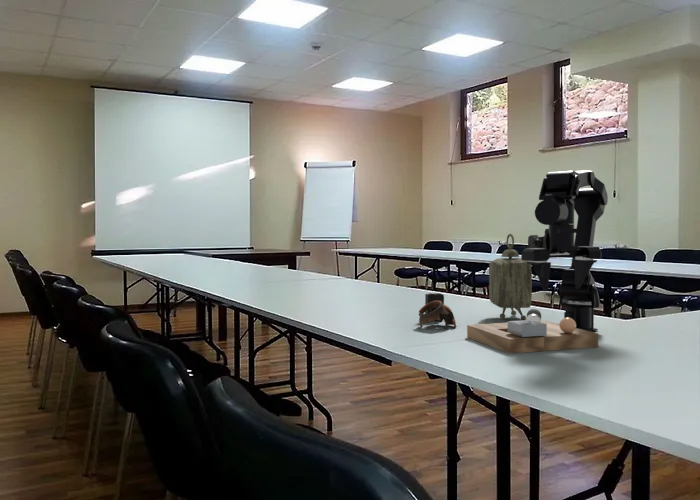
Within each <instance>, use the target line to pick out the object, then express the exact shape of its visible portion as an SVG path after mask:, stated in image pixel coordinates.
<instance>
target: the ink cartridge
mask: <svg viewBox="0 0 700 500" xmlns="http://www.w3.org/2000/svg"><path fill="white" fill-rule="evenodd" d="M424 295H425V296H424V297H425V300H424V302H425V303H424V306H425V305H426V304H428V303H430V302H433V301H441V302H442V303H443V304H444V305H445V295H444V294H443V293H440V292H434V293H433V292H427V293H425V294H424ZM427 313H430V309H429V310H427V311H426V312H425V313H424V314H427Z"/></svg>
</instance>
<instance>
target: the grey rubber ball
mask: <svg viewBox="0 0 700 500" xmlns="http://www.w3.org/2000/svg"><path fill="white" fill-rule="evenodd" d="M530 314H536V315H538V316H539V317H540V319H541V320H542V313H541V311H540V310H539V309H536V308H531V309H528V311H527V313H526V317H527V316H528V315H530Z"/></svg>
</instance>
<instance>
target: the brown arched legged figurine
mask: <svg viewBox="0 0 700 500" xmlns="http://www.w3.org/2000/svg"><path fill="white" fill-rule="evenodd" d="M429 309H430V313H427V314H425V312H426V311H427V310H429ZM417 315H418V317H419V318H418V319H419V320H418V323H419V326H420V328H423V324H424V325H427V324H429V323H433V322H435V323H442V322H443V321H444V325H445V326H453V327H454V329H457V324H456V323H457V322H456V317H455V315H454V313H453V311H452V308H450V307H449V306H448V305H446V304H445V303H444V304H443V303H442V302H441V301H433V302H430V303H428V304H426V305H425V304H424V305H423V306H422V307H421V308H420V309H419V310H418V314H417Z"/></svg>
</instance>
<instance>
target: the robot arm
mask: <svg viewBox="0 0 700 500" xmlns="http://www.w3.org/2000/svg"><path fill="white" fill-rule="evenodd" d="M588 186H589V187H590V188H583V187H588ZM606 188H607V187H606V186H605V183H604V182H602V181H600V179H598V178H597V177H596V175H595V173H594V171H593V170H590V169H589V170H588V169H586V170H566V171H565V170H563V171H549V172H547V173H546V174H545V177H544V178H543V180H542V183H541V187H540V192H539V195H538V200H539V201H540V202H538V203H537V205H536V207H535V209H534V216H535V219H536V220H537V222H538V223H540V224H542V225H544V226H548V228H545V229H544V235H543V236H539V235H538V234H530V235H529V236H528V237H527V244H528V247H527V248H524V249H523V250H522V252H521V253H520V256H521V257H520V258H521V260H526V263H527V264H530V265H531V268H533V270H534V271H535V273H536V275H537V277H538V282H539V283H540V286H541V288H542V291H544V292H548V289H549V285H550V284H549V283H550V274H551V265H552V262H549V260H550V259H557V258H560V259H561V258H571V266H570V267H569V268H568V269H564V270H563V272H562V276H561V277H562V278H561V282H560V283H559V286H558V295H559V303H560V306H561V307H565V311H564V313H563V314H564V315H563V319H564V318H572V319H573V320H574V321H575V323H576V328H578V329H582V330H586V331H590V332H596V331H599V330H598V328H596V327H594V326H595V325H594V324H595V323H594V321H595V320H594V319H595V318H594V317H595V316H594V310H595V309H597V308H598V309H599V308H600V296H599V292H598V289H597V285H596V282H595V279H594V277H593V276H592V274H591V271H590V270H591V268H592V267H593V266H594V264H595V263H597V262H598V260H597V259H602V250H601V249H600V247H599V246H594V240H595V232H596V225H597V221H598V220H599V219H600V218H601V217H602V216H603V215H604V213H605V208H606V206H607V204H608V199H609V198H608V191H607V189H606ZM575 213H576V215H577V222H576V228H575Z"/></svg>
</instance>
